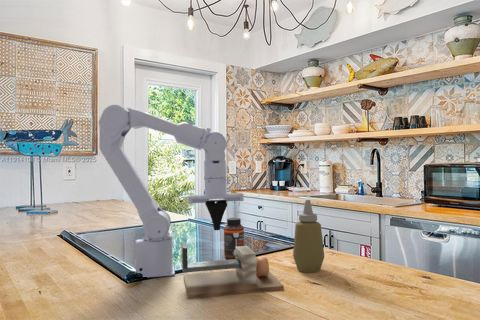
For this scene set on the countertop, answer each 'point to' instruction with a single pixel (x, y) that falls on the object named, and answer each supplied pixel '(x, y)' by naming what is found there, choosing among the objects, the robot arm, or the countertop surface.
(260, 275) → the block
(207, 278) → the stand
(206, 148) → the robot arm
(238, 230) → the supplement bottle
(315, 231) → the squeeze bottle
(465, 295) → the countertop surface
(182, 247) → the grey l-shaped bar
